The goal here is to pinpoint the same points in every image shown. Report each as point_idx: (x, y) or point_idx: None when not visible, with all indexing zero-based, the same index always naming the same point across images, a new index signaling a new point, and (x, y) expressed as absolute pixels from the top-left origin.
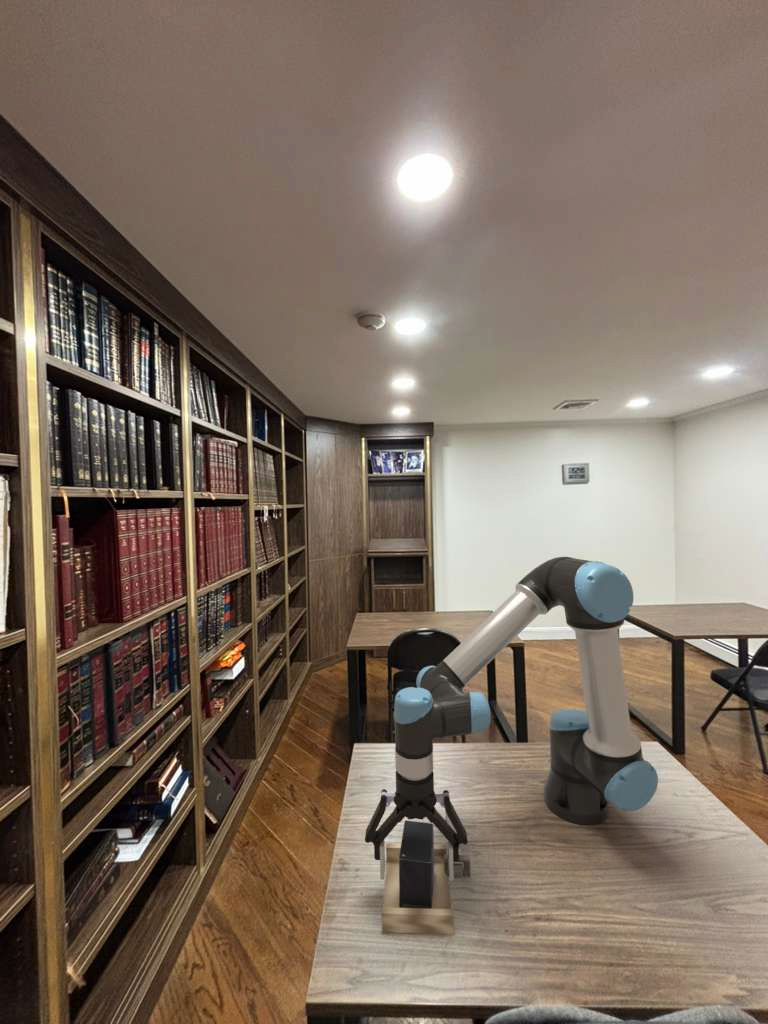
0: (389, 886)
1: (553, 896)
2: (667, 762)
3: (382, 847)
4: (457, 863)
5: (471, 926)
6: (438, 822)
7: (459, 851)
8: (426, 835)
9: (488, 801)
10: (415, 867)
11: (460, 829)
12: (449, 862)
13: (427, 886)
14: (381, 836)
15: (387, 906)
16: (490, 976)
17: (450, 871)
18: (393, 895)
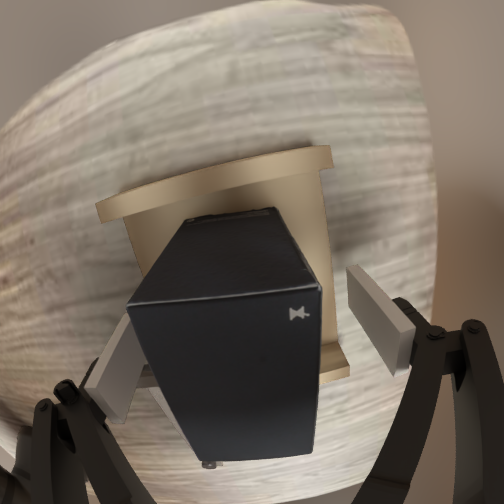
0: (320, 279)
1: (4, 326)
2: None
3: (404, 330)
4: (147, 369)
5: (87, 228)
6: (102, 492)
7: (154, 396)
8: (204, 429)
9: (157, 467)
10: (215, 276)
11: (34, 445)
12: (113, 350)
13: (172, 249)
14: (432, 364)
15: (315, 219)
16: (42, 130)
17: (121, 330)
18: (305, 256)
